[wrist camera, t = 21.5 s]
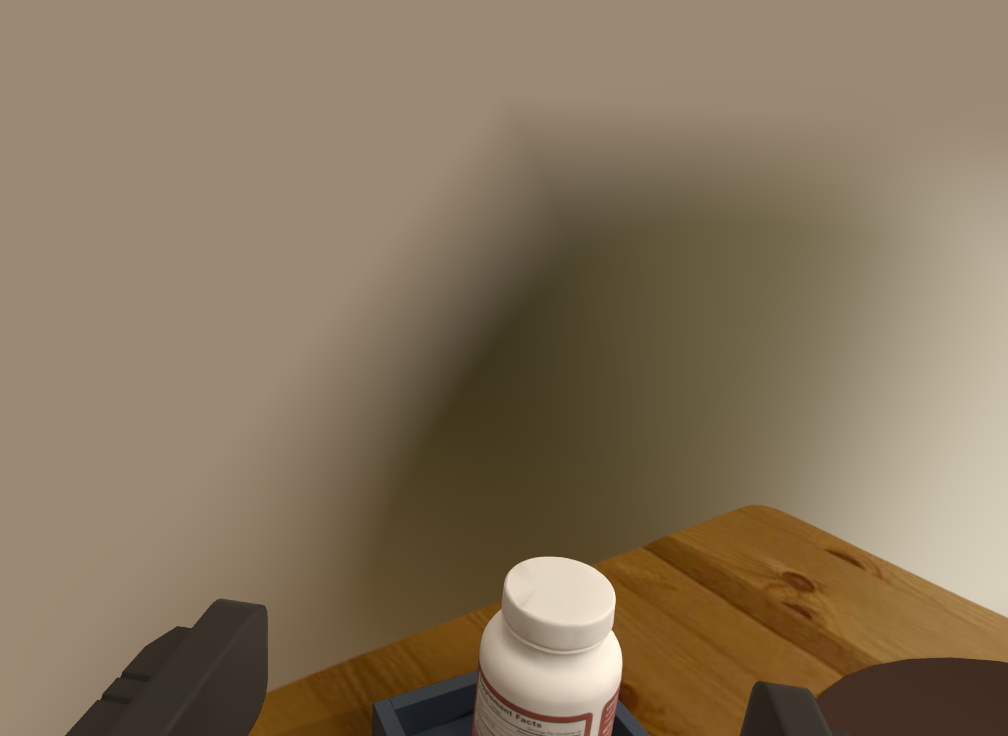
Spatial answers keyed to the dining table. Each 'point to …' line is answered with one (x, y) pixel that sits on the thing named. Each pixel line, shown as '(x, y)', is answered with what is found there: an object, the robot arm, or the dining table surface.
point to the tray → (454, 712)
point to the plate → (921, 699)
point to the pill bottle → (549, 654)
